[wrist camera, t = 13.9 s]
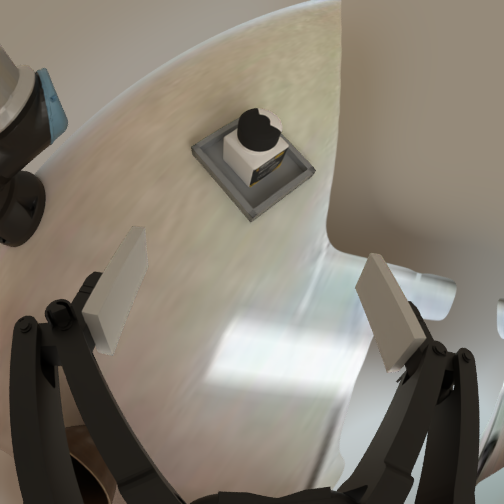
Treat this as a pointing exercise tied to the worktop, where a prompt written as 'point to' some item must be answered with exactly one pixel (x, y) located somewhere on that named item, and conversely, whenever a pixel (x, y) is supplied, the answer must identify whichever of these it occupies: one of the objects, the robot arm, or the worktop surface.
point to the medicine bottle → (255, 145)
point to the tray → (264, 191)
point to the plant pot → (89, 467)
